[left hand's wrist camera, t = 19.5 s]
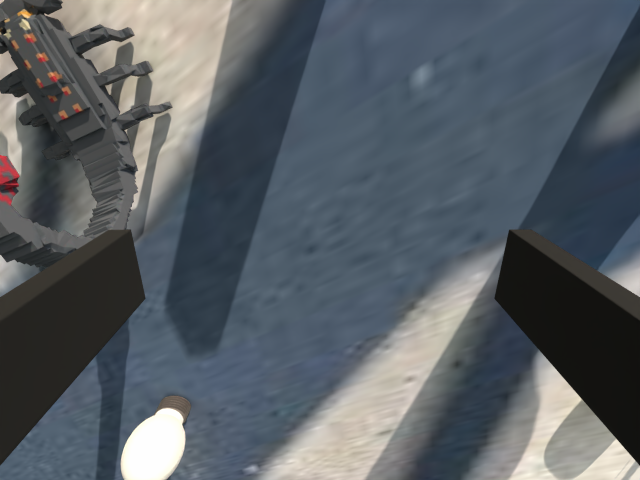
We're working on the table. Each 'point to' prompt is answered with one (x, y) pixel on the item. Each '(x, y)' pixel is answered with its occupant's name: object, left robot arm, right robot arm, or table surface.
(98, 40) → the toy
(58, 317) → the left robot arm
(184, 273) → the table surface
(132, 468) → the light bulb
